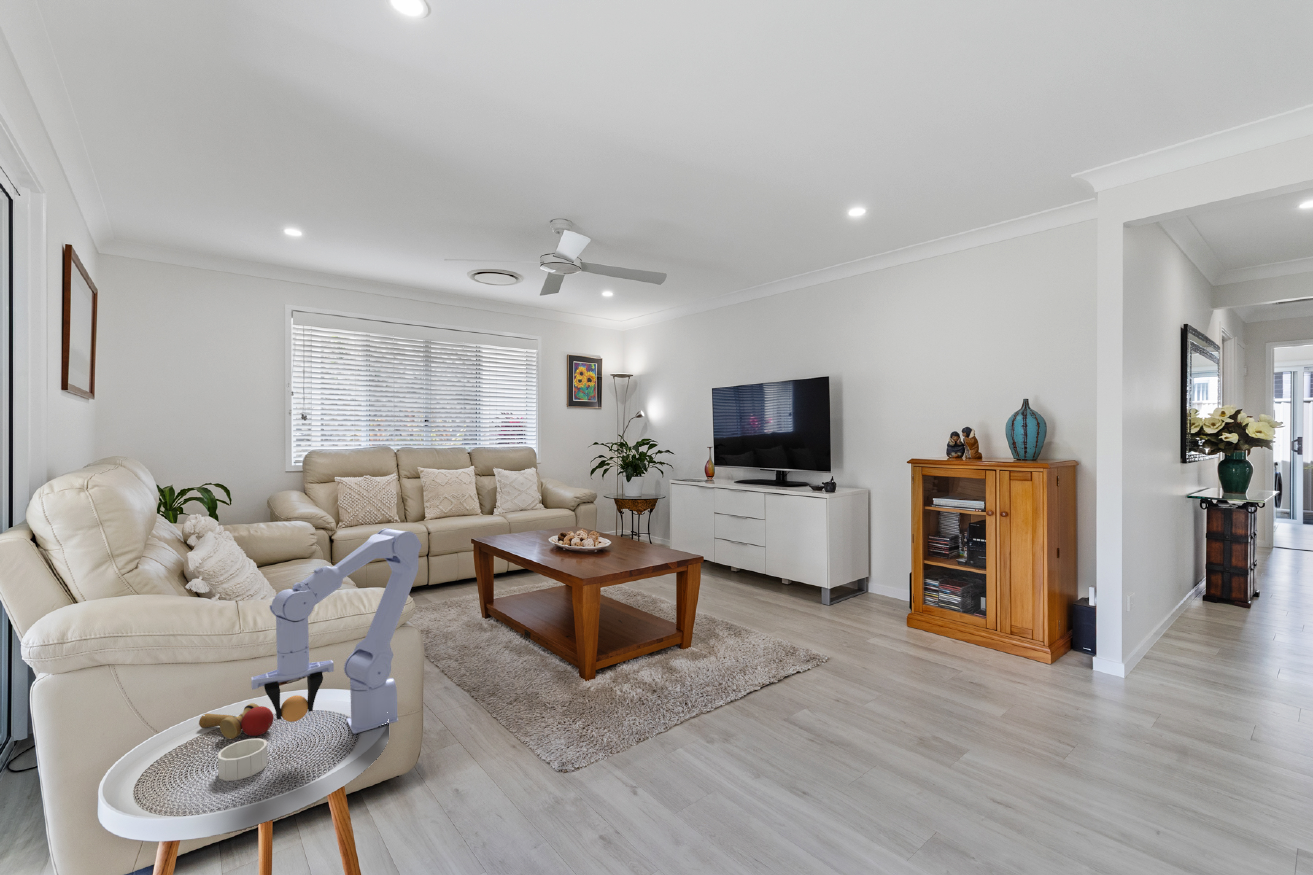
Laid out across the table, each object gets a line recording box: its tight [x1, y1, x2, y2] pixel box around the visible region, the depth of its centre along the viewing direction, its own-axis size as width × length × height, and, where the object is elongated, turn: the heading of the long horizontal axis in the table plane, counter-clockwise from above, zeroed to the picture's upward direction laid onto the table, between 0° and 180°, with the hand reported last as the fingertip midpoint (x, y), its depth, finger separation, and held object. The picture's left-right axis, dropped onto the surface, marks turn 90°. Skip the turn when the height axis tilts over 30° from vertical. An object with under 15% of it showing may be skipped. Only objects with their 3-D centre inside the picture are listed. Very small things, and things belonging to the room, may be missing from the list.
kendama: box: [198, 702, 274, 740], centre depth 136 cm, size 8×6×18 cm
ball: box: [280, 694, 309, 723], centre depth 126 cm, size 5×5×5 cm
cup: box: [217, 738, 269, 782], centre depth 121 cm, size 8×8×4 cm
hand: (294, 713), depth 126 cm, fingers closed on ball, 5 cm apart
